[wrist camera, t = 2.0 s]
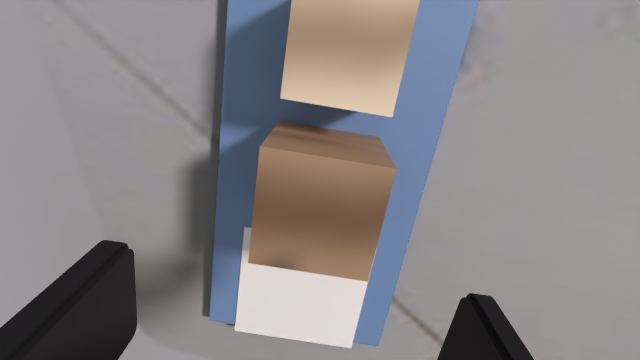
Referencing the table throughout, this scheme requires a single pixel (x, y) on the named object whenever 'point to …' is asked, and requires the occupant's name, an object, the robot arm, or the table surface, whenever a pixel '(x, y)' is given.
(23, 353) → the robot arm
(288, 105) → the board
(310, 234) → the walnut cube
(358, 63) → the maple cube
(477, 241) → the table surface
